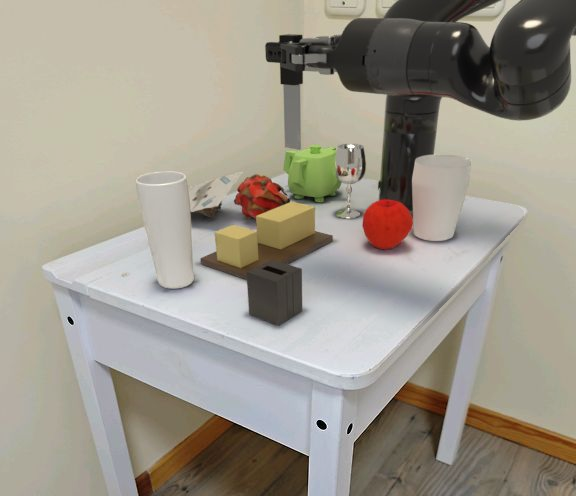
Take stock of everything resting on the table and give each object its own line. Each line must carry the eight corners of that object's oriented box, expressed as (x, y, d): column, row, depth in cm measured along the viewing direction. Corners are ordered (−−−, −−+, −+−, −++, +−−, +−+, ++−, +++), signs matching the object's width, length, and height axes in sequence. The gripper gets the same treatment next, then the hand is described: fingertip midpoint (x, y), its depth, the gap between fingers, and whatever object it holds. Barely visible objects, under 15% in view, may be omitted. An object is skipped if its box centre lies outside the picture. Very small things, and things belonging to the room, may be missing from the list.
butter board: (282, 227, 100) (282, 222, 100) (332, 241, 94) (332, 235, 94) (200, 264, 88) (200, 258, 87) (252, 282, 82) (252, 275, 81)
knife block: (273, 300, 77) (272, 259, 74) (302, 310, 74) (302, 268, 71) (249, 314, 74) (246, 272, 70) (278, 325, 71) (276, 282, 68)
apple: (419, 244, 92) (424, 199, 88) (391, 259, 88) (395, 212, 83) (379, 233, 97) (382, 190, 92) (350, 247, 92) (352, 201, 88)
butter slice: (235, 252, 89) (232, 224, 86) (258, 259, 86) (257, 231, 84) (217, 260, 86) (214, 232, 84) (240, 268, 84) (238, 239, 81)
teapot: (293, 206, 110) (292, 154, 104) (281, 190, 119) (280, 140, 113) (351, 201, 112) (353, 149, 106) (335, 185, 121) (336, 137, 115)
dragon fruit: (242, 218, 109) (287, 242, 103) (215, 202, 102) (261, 226, 96) (263, 178, 107) (309, 199, 101) (236, 158, 100) (285, 180, 94)
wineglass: (362, 220, 103) (365, 150, 96) (330, 218, 104) (332, 150, 97) (364, 210, 107) (368, 143, 100) (334, 208, 108) (336, 142, 101)
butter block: (292, 227, 98) (291, 201, 95) (315, 233, 95) (315, 206, 92) (257, 242, 92) (255, 215, 89) (280, 249, 89) (279, 222, 87)
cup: (462, 228, 98) (474, 155, 91) (458, 246, 91) (470, 170, 84) (410, 223, 101) (418, 152, 94) (402, 241, 94) (409, 166, 87)
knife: (289, 145, 80) (287, 34, 72) (304, 148, 78) (303, 34, 71) (281, 148, 79) (278, 35, 71) (295, 150, 77) (294, 35, 69)
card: (197, 207, 114) (183, 186, 111) (256, 192, 106) (243, 168, 103) (170, 242, 108) (155, 220, 105) (231, 228, 99) (216, 204, 96)
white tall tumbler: (178, 296, 79) (162, 187, 70) (143, 286, 82) (123, 180, 73) (209, 278, 83) (197, 174, 75) (174, 269, 86) (159, 168, 78)
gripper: (421, 15, 66) (305, 14, 75) (354, 21, 58) (234, 19, 67) (414, 86, 71) (306, 77, 80) (351, 102, 62) (238, 90, 71)
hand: (273, 51), depth 73 cm, fingers closed on knife, 2 cm apart
